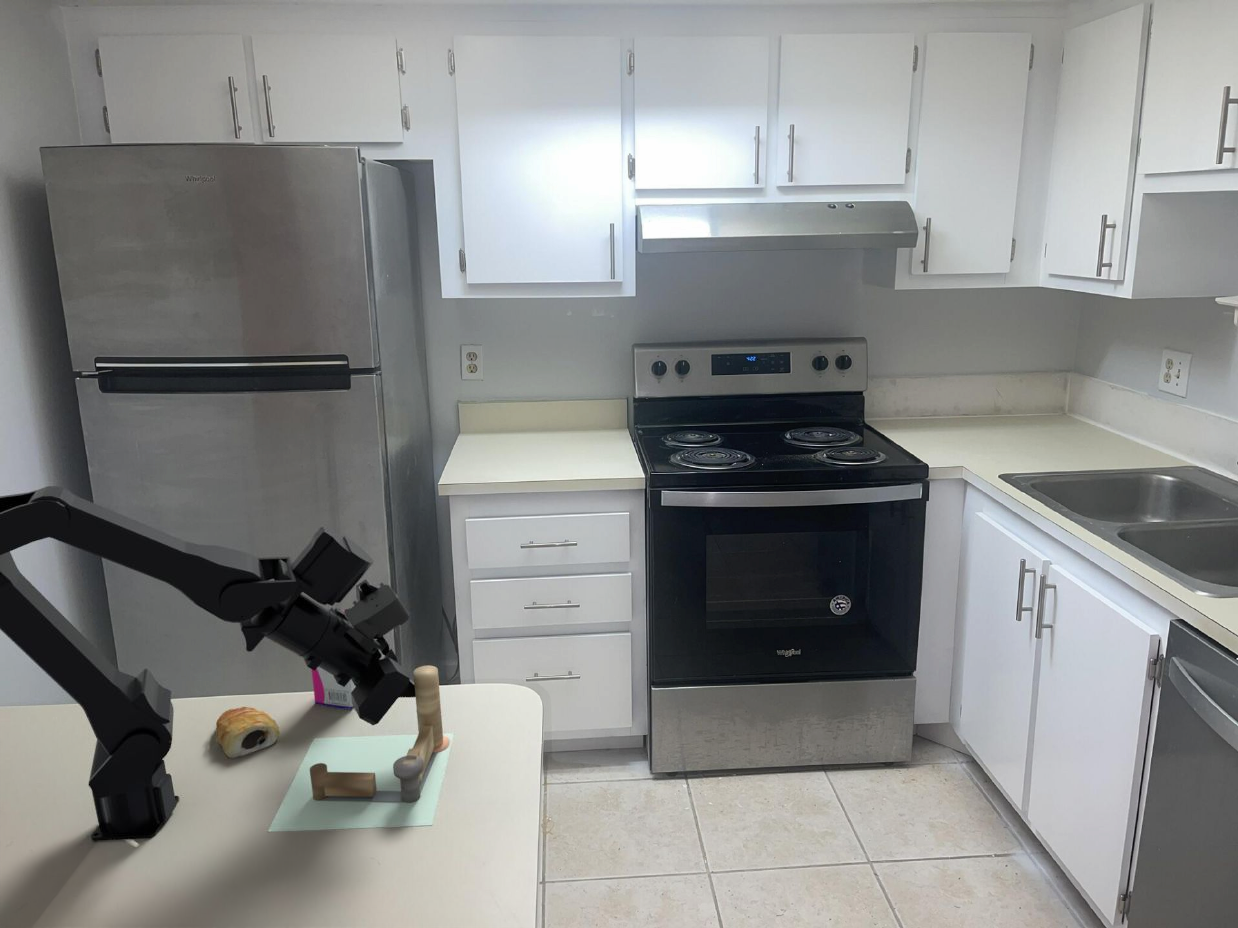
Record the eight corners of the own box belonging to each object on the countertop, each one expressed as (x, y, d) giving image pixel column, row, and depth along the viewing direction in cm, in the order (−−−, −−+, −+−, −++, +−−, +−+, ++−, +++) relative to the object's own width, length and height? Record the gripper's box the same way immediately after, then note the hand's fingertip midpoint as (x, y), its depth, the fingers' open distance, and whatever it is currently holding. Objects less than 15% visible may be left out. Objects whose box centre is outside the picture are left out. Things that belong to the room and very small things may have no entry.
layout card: (267, 833, 92) (267, 830, 92) (314, 740, 109) (314, 737, 109) (432, 827, 93) (432, 823, 93) (454, 735, 109) (454, 732, 109)
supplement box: (376, 688, 120) (369, 611, 117) (352, 711, 115) (344, 631, 112) (338, 683, 122) (330, 606, 119) (313, 705, 116) (303, 626, 113)
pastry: (205, 732, 111) (201, 705, 110) (259, 713, 115) (256, 686, 114) (229, 765, 104) (225, 737, 103) (286, 744, 109) (283, 716, 108)
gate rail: (422, 803, 96) (415, 726, 93) (392, 803, 96) (385, 726, 93) (447, 735, 108) (441, 665, 106) (420, 735, 108) (415, 665, 106)
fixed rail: (422, 791, 98) (420, 763, 97) (417, 802, 96) (415, 775, 96) (316, 789, 99) (313, 762, 98) (310, 801, 97) (306, 773, 96)
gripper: (382, 606, 91) (488, 673, 100) (340, 545, 107) (435, 608, 115) (311, 694, 90) (425, 755, 98) (279, 620, 105) (379, 678, 114)
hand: (417, 692), depth 106 cm, fingers closed
